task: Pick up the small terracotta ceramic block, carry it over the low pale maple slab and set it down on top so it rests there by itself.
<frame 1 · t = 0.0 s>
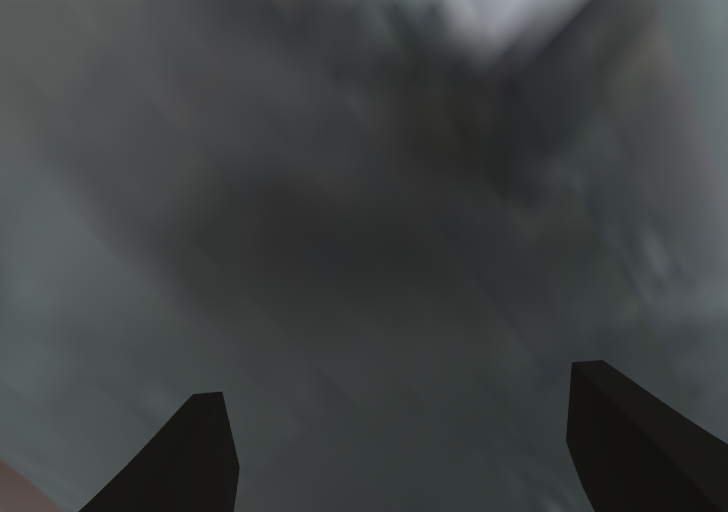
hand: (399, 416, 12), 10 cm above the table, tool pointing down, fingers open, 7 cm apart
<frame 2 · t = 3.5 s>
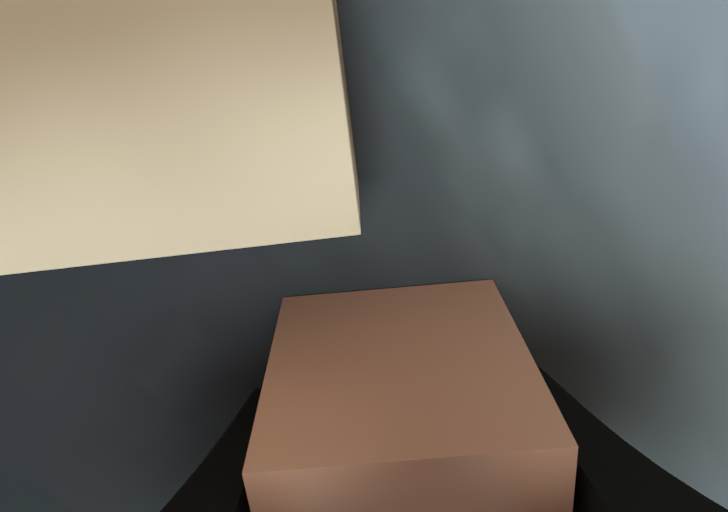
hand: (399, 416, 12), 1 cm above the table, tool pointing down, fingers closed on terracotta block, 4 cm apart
maple slab: (142, 14, 10), on the table
terracotta block: (394, 375, 13), on the table, touching gripper
when the fingers open (6 cm above the table, at t = 6.5 s): terracotta block drops 1 cm, resting on maple slab.
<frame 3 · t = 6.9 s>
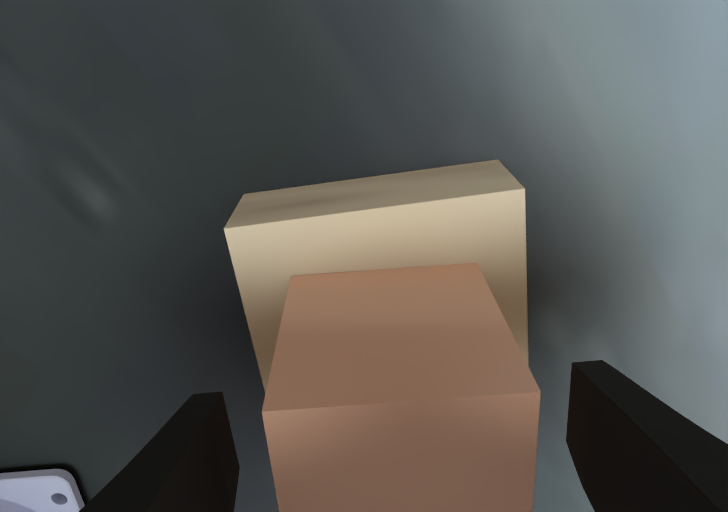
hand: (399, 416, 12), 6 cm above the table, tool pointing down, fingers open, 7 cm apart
maple slab: (384, 284, 17), on the table, touching terracotta block
terracotta block: (388, 348, 15), point 3 cm above the table, touching maple slab
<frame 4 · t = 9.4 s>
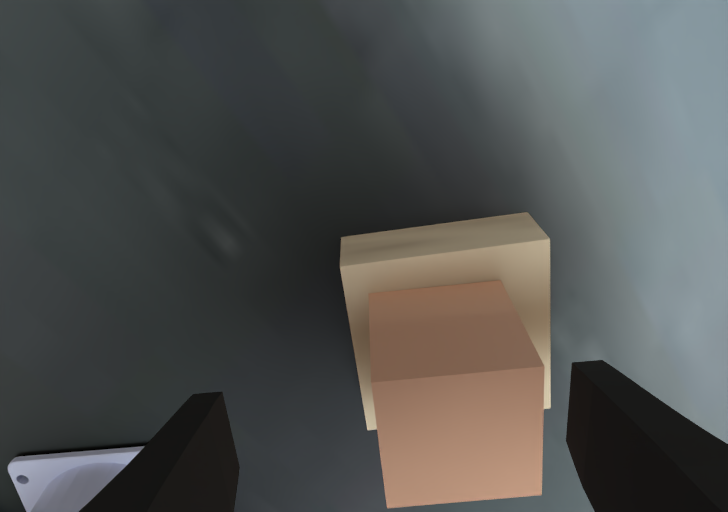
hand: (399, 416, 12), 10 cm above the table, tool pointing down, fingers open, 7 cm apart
maple slab: (439, 301, 23), on the table, touching terracotta block
terracotta block: (438, 342, 20), point 3 cm above the table, touching maple slab
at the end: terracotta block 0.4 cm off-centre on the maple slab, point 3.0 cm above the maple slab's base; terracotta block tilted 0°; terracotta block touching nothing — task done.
